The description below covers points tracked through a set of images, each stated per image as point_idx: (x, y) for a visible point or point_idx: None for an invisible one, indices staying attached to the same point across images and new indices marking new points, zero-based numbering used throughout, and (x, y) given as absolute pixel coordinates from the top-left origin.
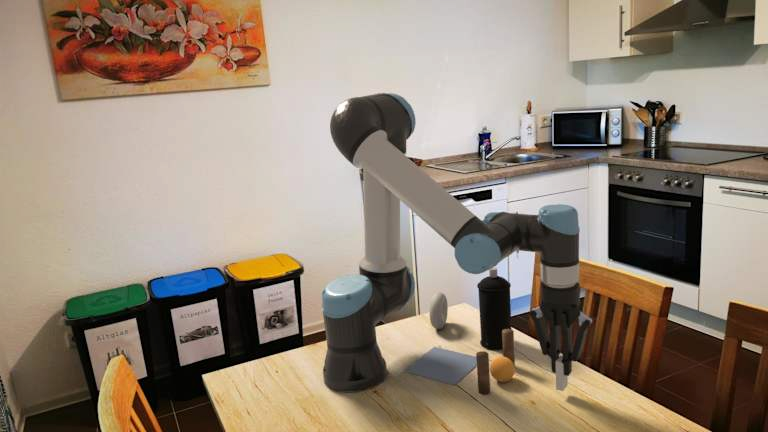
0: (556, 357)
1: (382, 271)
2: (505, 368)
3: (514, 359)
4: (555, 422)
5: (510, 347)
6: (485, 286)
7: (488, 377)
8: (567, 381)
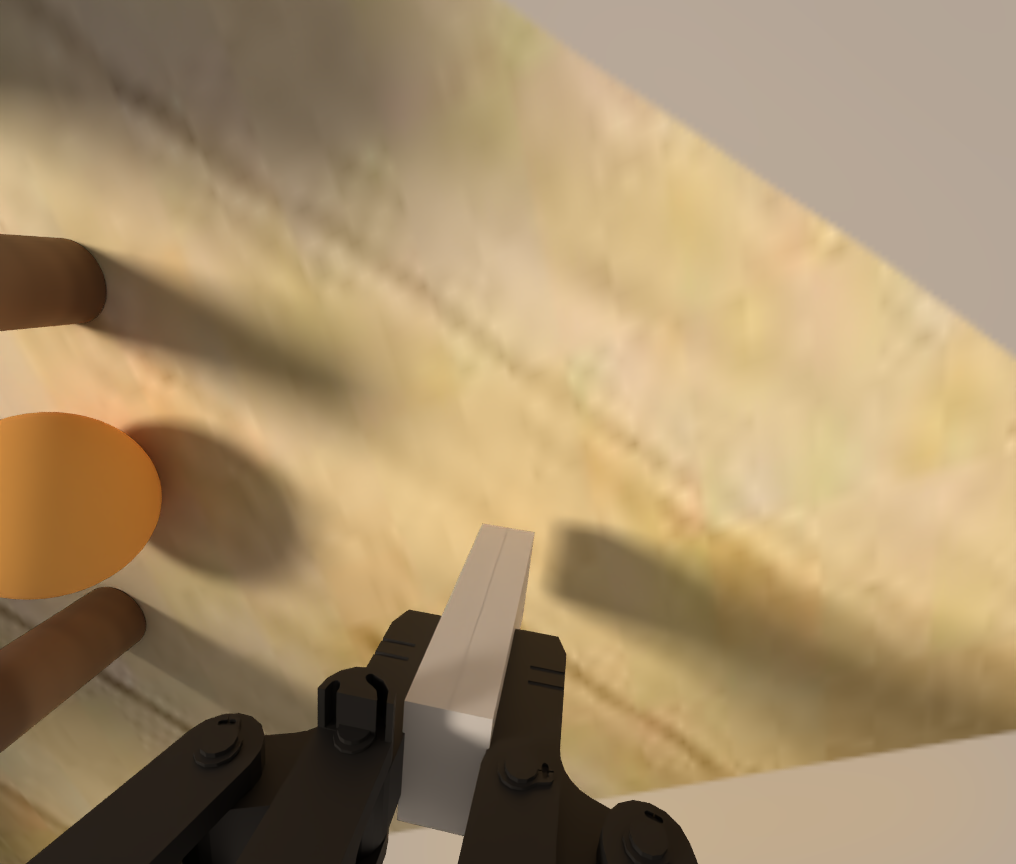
0: (387, 830)
1: None
2: (66, 589)
3: (39, 278)
4: None
5: None
6: None
7: (48, 704)
8: (530, 550)
